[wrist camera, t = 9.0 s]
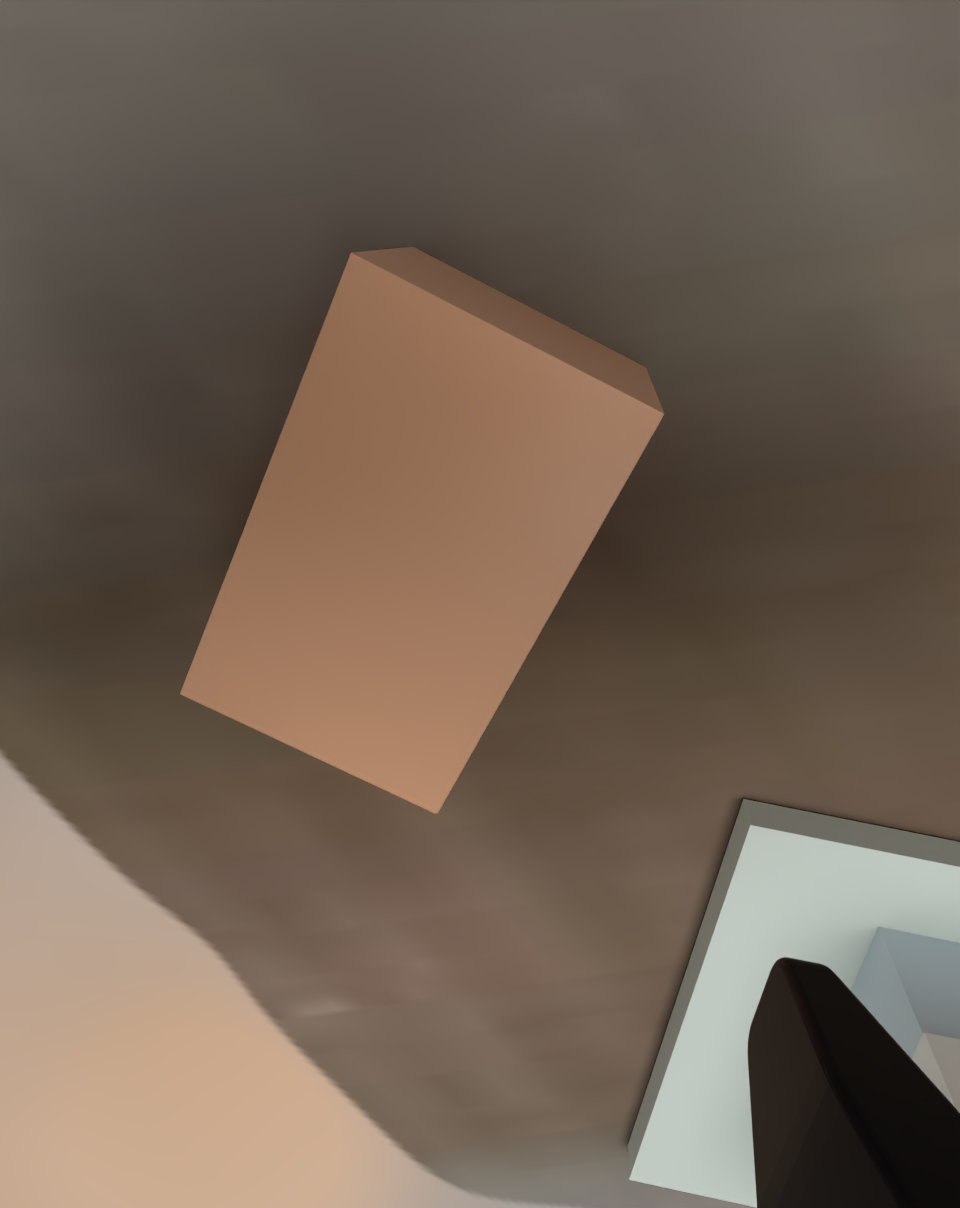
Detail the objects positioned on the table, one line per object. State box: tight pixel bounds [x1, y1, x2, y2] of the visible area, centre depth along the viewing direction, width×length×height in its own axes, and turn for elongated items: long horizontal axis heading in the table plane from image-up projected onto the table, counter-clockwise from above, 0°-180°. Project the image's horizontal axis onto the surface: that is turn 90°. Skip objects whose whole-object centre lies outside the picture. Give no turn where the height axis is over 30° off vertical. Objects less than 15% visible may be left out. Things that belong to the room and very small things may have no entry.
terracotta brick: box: [180, 247, 664, 814], centre depth 17 cm, size 5×8×5 cm, turn 154°
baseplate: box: [628, 799, 960, 1207], centre depth 21 cm, size 12×12×4 cm
